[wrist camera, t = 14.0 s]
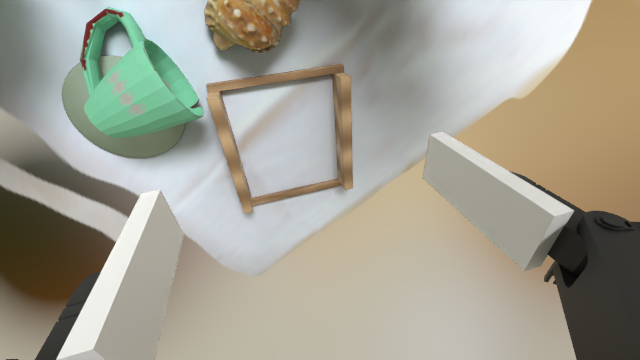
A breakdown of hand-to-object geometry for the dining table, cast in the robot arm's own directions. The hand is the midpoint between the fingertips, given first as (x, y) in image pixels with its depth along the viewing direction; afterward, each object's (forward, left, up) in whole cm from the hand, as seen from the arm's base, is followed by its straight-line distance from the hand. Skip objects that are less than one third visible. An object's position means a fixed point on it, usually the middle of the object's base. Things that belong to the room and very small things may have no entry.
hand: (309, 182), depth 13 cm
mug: (0, -21, -26) cm, 34 cm away
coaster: (+3, -19, -31) cm, 36 cm away
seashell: (-6, -2, -32) cm, 33 cm away
